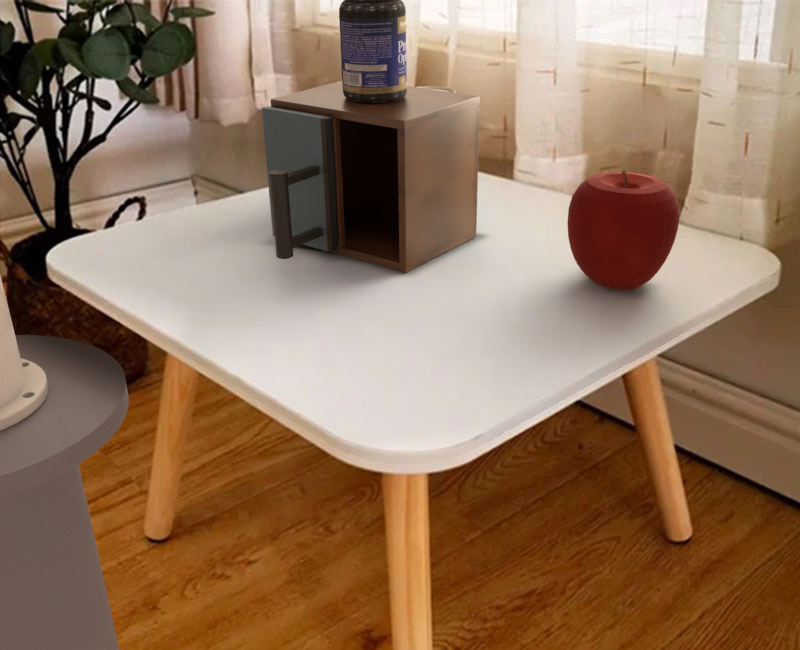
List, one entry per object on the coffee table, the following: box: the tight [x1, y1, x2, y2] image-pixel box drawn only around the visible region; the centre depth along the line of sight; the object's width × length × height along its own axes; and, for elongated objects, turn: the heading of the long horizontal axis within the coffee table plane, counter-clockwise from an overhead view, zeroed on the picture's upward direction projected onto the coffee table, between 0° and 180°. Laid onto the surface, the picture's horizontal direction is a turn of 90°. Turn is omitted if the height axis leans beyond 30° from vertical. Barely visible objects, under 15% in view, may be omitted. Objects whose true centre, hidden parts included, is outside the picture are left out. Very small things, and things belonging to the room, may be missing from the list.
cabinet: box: [270, 80, 481, 273], centre depth 93 cm, size 12×16×14 cm
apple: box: [567, 170, 681, 291], centre depth 83 cm, size 10×10×10 cm
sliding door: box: [261, 106, 338, 260], centre depth 88 cm, size 7×8×13 cm
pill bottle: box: [338, 0, 408, 103], centre depth 87 cm, size 6×6×11 cm
